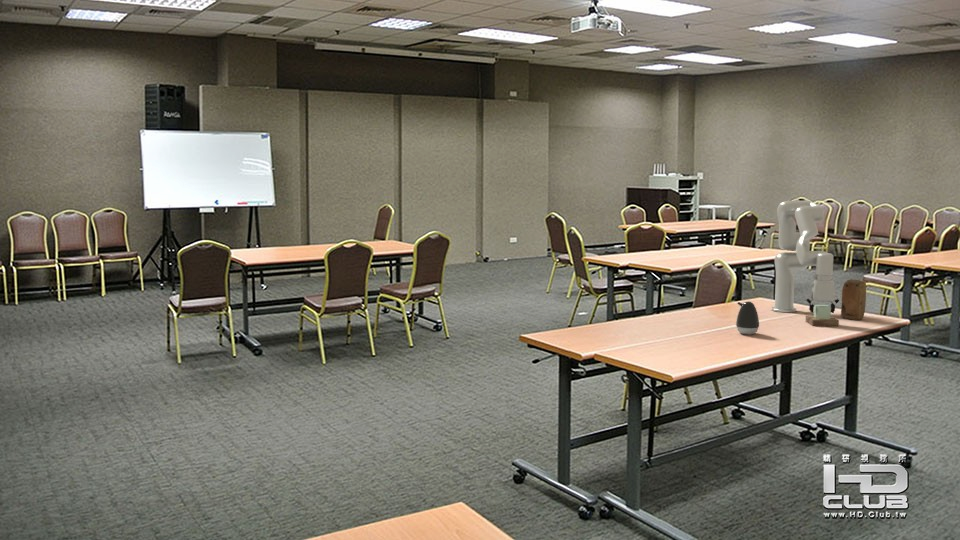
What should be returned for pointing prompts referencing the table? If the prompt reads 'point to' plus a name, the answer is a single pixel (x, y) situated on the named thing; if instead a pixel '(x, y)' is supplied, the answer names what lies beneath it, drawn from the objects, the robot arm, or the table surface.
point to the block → (853, 299)
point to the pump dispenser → (747, 319)
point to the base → (822, 321)
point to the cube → (822, 311)
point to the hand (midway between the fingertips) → (821, 312)
